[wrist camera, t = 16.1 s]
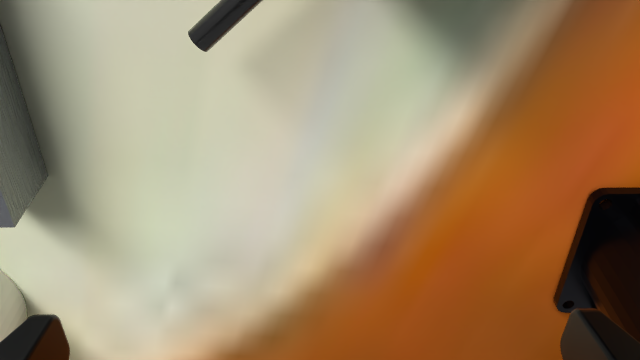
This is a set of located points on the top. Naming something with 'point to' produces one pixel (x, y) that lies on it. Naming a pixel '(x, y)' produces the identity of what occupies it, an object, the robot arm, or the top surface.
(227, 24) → the drinking cup
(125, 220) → the top surface
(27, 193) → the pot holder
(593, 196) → the robot arm
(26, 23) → the top surface
